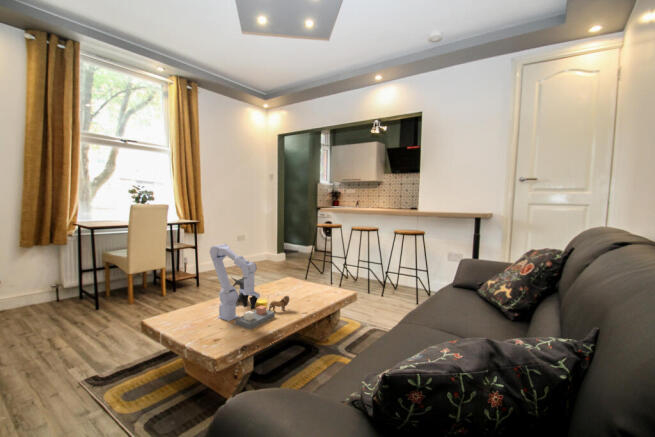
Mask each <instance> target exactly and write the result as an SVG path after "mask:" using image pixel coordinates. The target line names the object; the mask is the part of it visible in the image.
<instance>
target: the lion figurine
mask: <svg viewBox="0 0 655 437" xmlns="http://www.w3.org/2000/svg"><path fill="white" fill-rule="evenodd" d="M289 303H290V296H289V295H285V296H283V298H281V300H278V301H277V300H273V301H271V302H270V303H269V306H268V309H267V310H268V311H272V312H275V313H276V314H277V311H276V310H275V309H276V307H278V308H281V309H280V310H282V311H283V312H286V310H285V308H286V306H288V305H289Z"/></svg>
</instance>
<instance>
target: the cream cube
mask: <svg viewBox="0 0 655 437" xmlns="http://www.w3.org/2000/svg"><path fill="white" fill-rule="evenodd" d="M243 316H244V320H247V321H251V320H253V319H254V312H252V311H251V310H248V311H246V312H244V313H243Z"/></svg>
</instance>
